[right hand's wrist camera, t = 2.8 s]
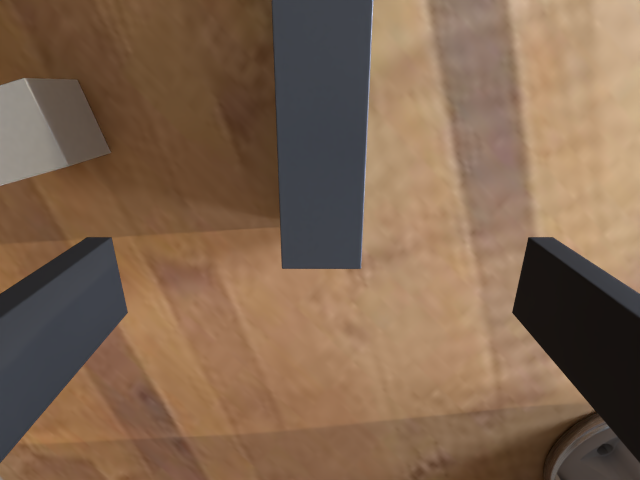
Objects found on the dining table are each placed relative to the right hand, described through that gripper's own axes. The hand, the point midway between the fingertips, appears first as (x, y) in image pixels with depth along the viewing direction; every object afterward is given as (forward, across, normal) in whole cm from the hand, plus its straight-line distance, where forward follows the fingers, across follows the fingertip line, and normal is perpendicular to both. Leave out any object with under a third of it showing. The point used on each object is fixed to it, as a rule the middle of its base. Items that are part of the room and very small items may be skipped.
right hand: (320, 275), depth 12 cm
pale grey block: (+17, +18, -3) cm, 25 cm away
